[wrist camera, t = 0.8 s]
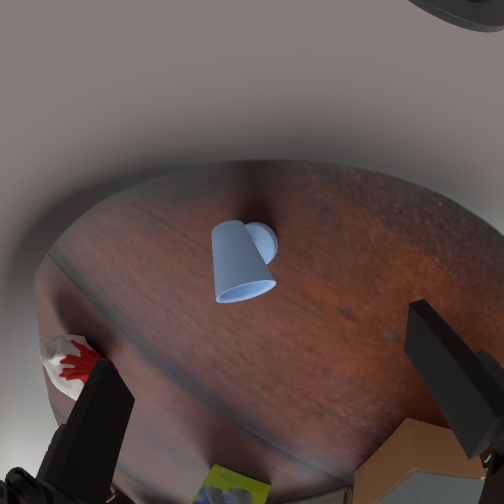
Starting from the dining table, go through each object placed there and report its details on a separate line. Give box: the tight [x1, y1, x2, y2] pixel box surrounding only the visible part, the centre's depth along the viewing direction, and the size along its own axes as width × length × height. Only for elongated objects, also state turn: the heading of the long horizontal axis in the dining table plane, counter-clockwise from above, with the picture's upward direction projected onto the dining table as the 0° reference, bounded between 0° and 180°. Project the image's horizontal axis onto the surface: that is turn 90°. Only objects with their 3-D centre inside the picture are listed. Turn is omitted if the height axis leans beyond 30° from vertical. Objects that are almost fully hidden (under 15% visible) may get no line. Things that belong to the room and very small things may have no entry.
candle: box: [38, 335, 119, 400], centre depth 39 cm, size 9×11×15 cm
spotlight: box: [212, 220, 278, 303], centre depth 27 cm, size 5×10×7 cm
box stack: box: [352, 417, 486, 504], centre depth 23 cm, size 13×13×15 cm
